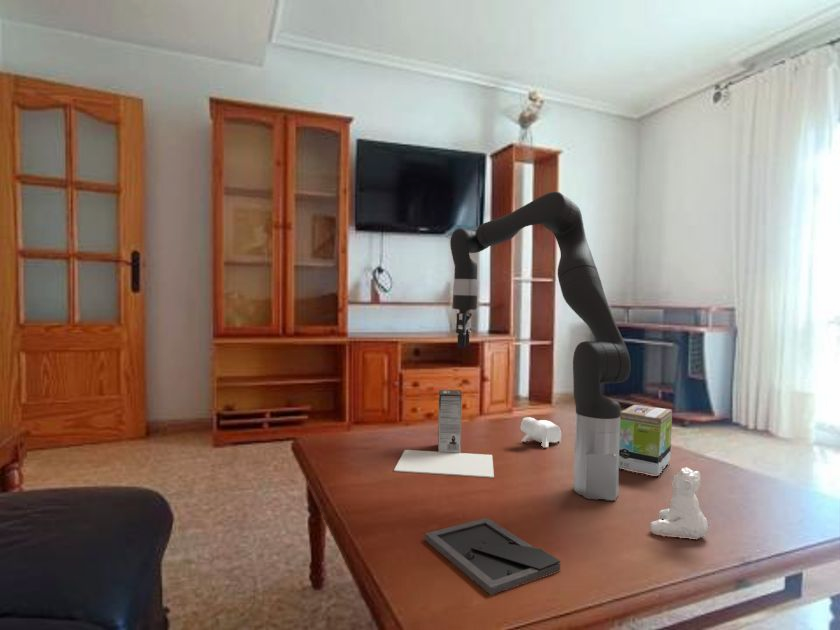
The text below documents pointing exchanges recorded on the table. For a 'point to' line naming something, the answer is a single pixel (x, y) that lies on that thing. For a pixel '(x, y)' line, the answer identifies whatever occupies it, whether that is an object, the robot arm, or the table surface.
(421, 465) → the flat white rectangular panel
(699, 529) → the seated beast figurine
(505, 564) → the picture frame
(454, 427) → the coffee box
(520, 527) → the table surface
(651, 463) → the tea box
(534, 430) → the white animal figurine
